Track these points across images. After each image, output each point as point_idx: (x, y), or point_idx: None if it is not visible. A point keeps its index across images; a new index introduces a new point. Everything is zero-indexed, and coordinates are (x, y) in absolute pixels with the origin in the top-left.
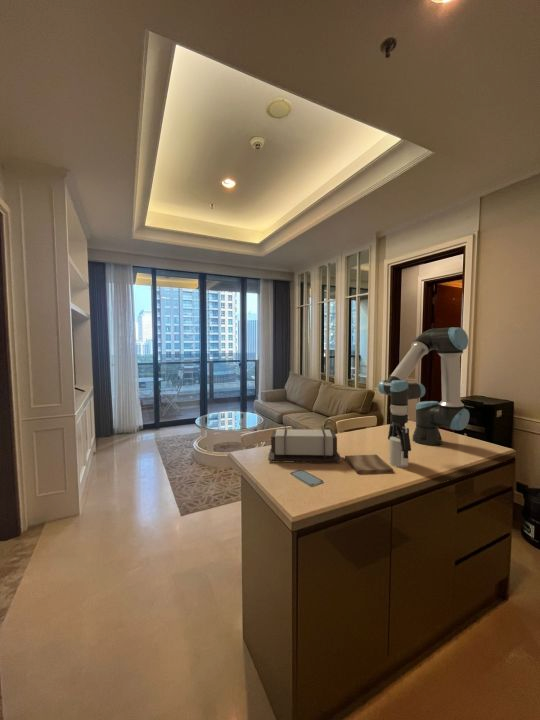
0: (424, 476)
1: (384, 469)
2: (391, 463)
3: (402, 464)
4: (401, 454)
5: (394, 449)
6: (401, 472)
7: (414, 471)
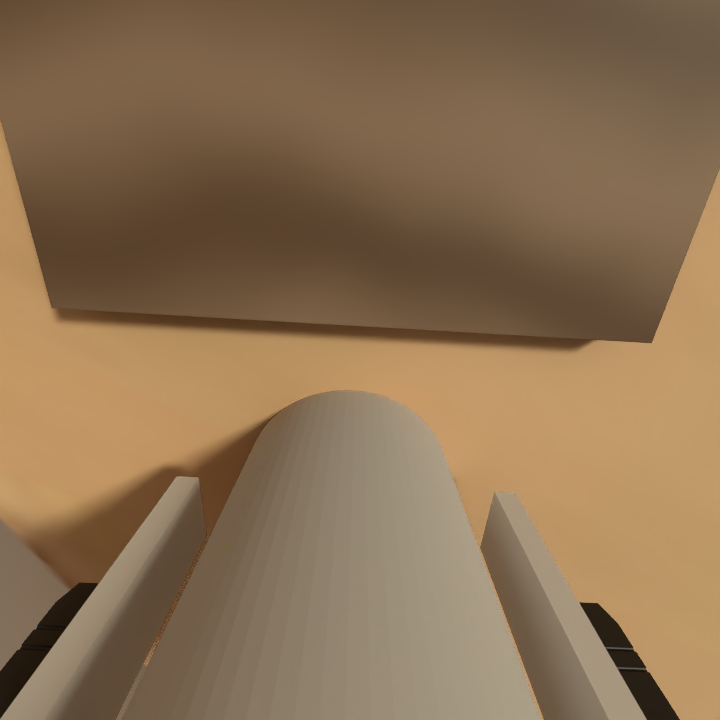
0: (31, 538)
1: (11, 156)
2: (326, 401)
3: (173, 484)
4: (107, 618)
5: (194, 639)
6: (104, 393)
7: None
